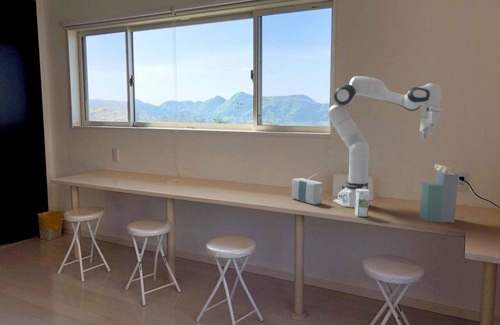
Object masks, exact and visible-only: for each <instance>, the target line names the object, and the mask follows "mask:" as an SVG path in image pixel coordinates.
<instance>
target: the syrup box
mask: <svg viewBox="0 0 500 325" xmlns="http://www.w3.org/2000/svg"><path fill="white" fill-rule="evenodd" d="M369 207H370V190H369V188H368V189H356V198H355V208H354V213H353V214H354V215H355V216H356V217H357V218H359V217H360V218H368V217H369Z"/></svg>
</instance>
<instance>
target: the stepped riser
mask: <svg viewBox="0 0 500 325" xmlns="http://www.w3.org/2000/svg"><path fill="white" fill-rule="evenodd" d="M435 171H436V172H435V173H436V174H435V182H431V181H422V182H421V190H420V191H421V192H420V194H421V195H420V204H419V205H420V206H419V218H421V219H422V220H423V221H424V222H426V221H430V222H429V223H447V222H450V223H451V224H452V223H453V224H454V223H455V216H456V207H457V206H456V205H457V192H458V183H459V174H457V173H454V175H449V174H446V173H443V172H441V171H438V170H435Z"/></svg>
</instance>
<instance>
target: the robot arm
mask: <svg viewBox="0 0 500 325" xmlns="http://www.w3.org/2000/svg"><path fill="white" fill-rule="evenodd" d="M356 96H362V97H366V98H372V99H377V100H380V101H384V102H386V103H390V104H394V105H397V106H400V107H403V108H404V109H405V110H407V111H409V112H415V111H418V110H419V109H420V108H421V116H422V117H423V118H421V121H420V126H419V132H420V133H422V139H427V137H428V135H429V136H433V134H434V130H435V127H436V126H438V125H439V122H440V117H441V113H442V111H443V110H442V109H443V108H441V106H440V103H441V100H442V99H441V98H442V89H441V86H440V85H439V84H437V83H433V82H431V83H427V84H425V85H422V86H414V87H411V88H410V89H409V90H408V91H407V93H406V94H403V93H398V92H394V91H391V90H390V89H388V87H386V84H385V83H384V81H383V80H381V79H378V78H377V77H376V78H375V77H372V76H371V77H370V76H362V75H361V76H360V75H355V76H353V77H352V78H351V79H350V81H349V83H348V84H346V85H342V86H340V87H338V88H336V89H335V91H334V93H333V99H334V100H333V101H334V104H332V106H330V107H329V109H328V111H327V114H328V118H329V120H330V122H331V124H332V125H333V127H334V129H335V130H336V132H337V134H338V136H339V138H340V139H341V140H342V142H343V143H344V144H345V146H346V147H347V149H348V151H349V154H348V155H349V156H348V158H349V159H348V181H345V183H344V184H345V188H343V189H341V190H340V191H339V192H338V193H337V198H335V199H333V202H334V203H336V204H338V205H340V206H342V207H344V208H354V209H355V198H356V189H368V190H369V182H368V180H369V163H370V162H369V161H370V145H369V143H368V142H367V140H366V138H365V137H364V135H363V134H362V132H361V131H360V130H359V128H358V126H357V124H356V123H355V122H354V120H353V118H352V117H351V116H350V114H349V112H348V110H347V108H348V107H349V105H350V104H351V103H352V102H353V100H354V98H355V97H356ZM421 106H422V107H421ZM427 133H428V135H427Z"/></svg>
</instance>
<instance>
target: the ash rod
mask: <svg viewBox="0 0 500 325" xmlns="http://www.w3.org/2000/svg"><path fill="white" fill-rule="evenodd" d="M434 170H435V171H440V172H443V173H446V174H449V175H454V173H455V172H456V169H454V168H451V167H448V166H446V165H441V164H434ZM455 174H456V173H455Z"/></svg>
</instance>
